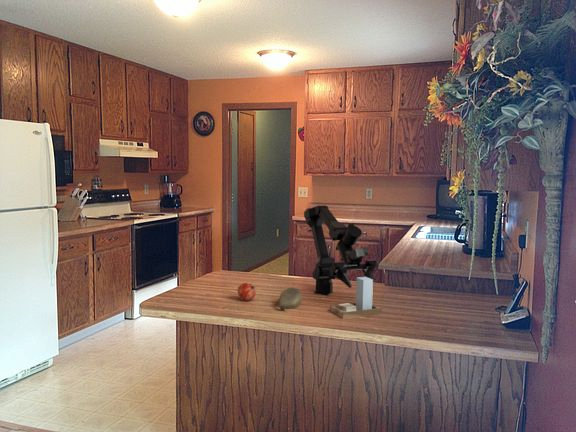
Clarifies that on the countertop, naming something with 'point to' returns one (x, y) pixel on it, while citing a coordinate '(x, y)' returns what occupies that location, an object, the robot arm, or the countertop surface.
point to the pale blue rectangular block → (364, 293)
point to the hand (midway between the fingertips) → (361, 286)
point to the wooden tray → (352, 314)
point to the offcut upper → (347, 307)
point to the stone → (290, 298)
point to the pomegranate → (246, 292)
